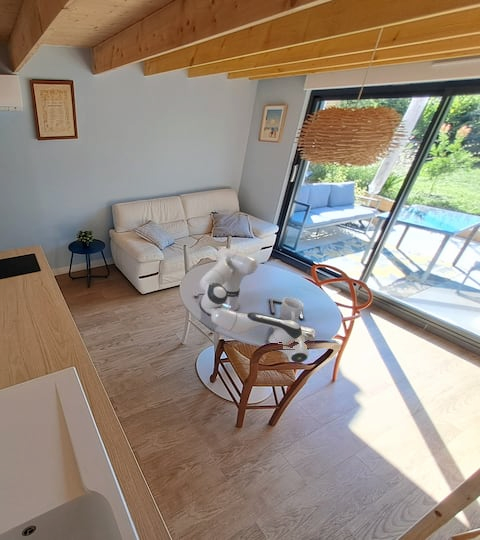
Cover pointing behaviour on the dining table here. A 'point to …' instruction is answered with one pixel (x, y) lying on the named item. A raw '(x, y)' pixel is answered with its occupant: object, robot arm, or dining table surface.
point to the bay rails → (280, 303)
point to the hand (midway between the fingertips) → (292, 321)
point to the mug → (291, 308)
